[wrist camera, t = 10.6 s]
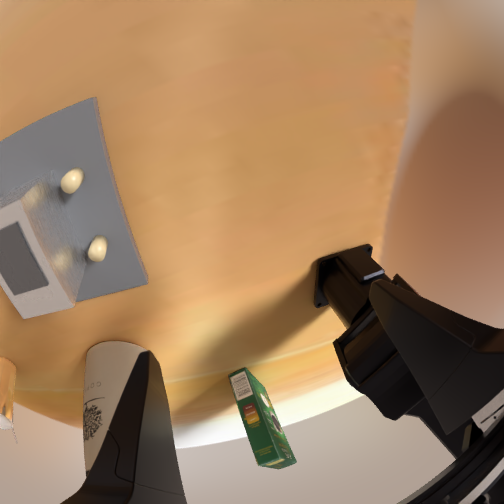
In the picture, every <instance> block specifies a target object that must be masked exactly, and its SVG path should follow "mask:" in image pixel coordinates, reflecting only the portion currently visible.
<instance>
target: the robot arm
mask: <svg viewBox="0 0 504 504" xmlns="http://www.w3.org/2000/svg"><path fill="white" fill-rule="evenodd" d="M372 249H373V247H372V246H371V245H370V244H366V245H362V246H359V247H356V248H353V249H349V250H346V251H343V252H339V253H336V254H333V255H329V256H326V257H322V258H320V259H319V260H318V262H317V272H316V284H315V295H314V306H315V307H316V308H320V307H322V306H325V305H328V304H329V305H330V306H331V308H332V309H333V310H334V312H335V313H336V314H337V316H338V317H339V319H340V320H341V321H342V323H343V324H344V326H345V327H346V328H347V330H346V331H345V332H344V333H343V334H342V335H341V336H340V337H339V338H338V339H336V340H335V341H334V342H333V345H334V348H335V351H336V354H337V356H338V359H339V362H340V364H341V367H342V369H343V372H344V375H345V377H346V380H347V381H348V382H349V384H350V385H351V386H352V387H354V388H355V389H356V390H357V391H359V392H360V393H362V394H365V395H366V396H367V397H368V398H369V399H370V400H371V401H372V402H373V403H374V404H375V405H376V406H377V408H378V409H379V410H380V412H381V413H382V414H383V416H385V417H386V418H389V419H392V420H397V419H399V418H400V417H401V416H403V415H409V416H414V417H419V418H420V419H421V420H422V421H423V422H424V424H426V426H427V427H428V428H429V429H430V430H431V431H432V433H433V434H434V435H435V436H436V437H437V438H438V439H439V440H440V442H441V443H442V444H443V445H444V446H445V447H446V448H447V449H448V451H449V452H450V453H451V454H452V455H453V456H454V457H455V459H456V460H455V461H454V462H453V463H452V464H451V465H449V466H448V467H447V468H446V469H445V470H444V471H442V472H441V473H440V474H439V475H437V476H436V477H435V478H434V479H432V480H431V481H429V482H428V483H427V484H425V485H424V486H423V487H421V488H420V489H419V490H417V491H416V492H414V493H413V494H411V495H410V496H408V497H407V498H405V499H404V500H402V501H400V502H399V503H397V504H504V329H499V328H494V327H492V326H489V325H486V324H483V323H481V322H478V321H475V320H473V319H470V318H467V317H465V316H463V315H460V314H458V313H456V312H454V311H452V310H449V309H447V308H445V307H443V306H441V305H439V304H436V303H434V302H432V301H430V300H428V299H425V298H423V297H421V296H420V295H419V294H418V293H417V292H416V291H415V290H414V289H413V288H412V287H411V286H410V285H409V284H408V283H407V282H406V281H405V280H404V279H403V278H401V277H400V276H399V275H398V274H396V275H395V276H394V277H393V278H394V279H393V280H391V279H390V278H389V277H388V276H387V275H385V273H384V272H385V271H384V269H383V268H382V267H381V266H380V265H378V264H377V263H376V262H375V261H374V260H373V259H372V258H371V254H372ZM108 429H109V430H107V433H106V435H105V438H104V440H103V443H102V445H101V448H100V450H99V452H98V455H97V457H96V459H95V461H94V463H93V465H92V467H91V469H90V471H89V473H88V475H87V477H86V480H85V482H84V483H83V485H82V487H81V488H80V489H79V490H78V491H77V492H76V493H75V494H74V495H72V496H71V497H69V498H68V499H66V500H65V501H63V502H62V503H60V504H187V502H186V498H185V496H184V495H185V494H184V490H183V485H182V481H181V476H180V472H179V467H178V462H177V456H176V450H175V445H174V439H173V432H172V425H171V418H170V411H169V404H168V399H167V395H166V390H165V386H164V382H163V377H162V372H161V368H160V364H159V362H158V361H157V359H156V358H155V356H154V355H153V353H152V352H151V351H150V350H148V351H143V352H140V353H139V355H138V357H137V360H136V362H135V364H134V366H133V369H132V371H131V373H130V376H129V378H128V380H127V383H126V385H125V387H124V390H123V392H122V395H121V397H120V400H119V402H118V404H117V407H116V409H115V412H114V415H113V417H112V420H111V422H110V425H109V427H108Z"/></svg>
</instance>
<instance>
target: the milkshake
mask: <svg viewBox="0 0 504 504" xmlns="http://www.w3.org/2000/svg"><path fill="white" fill-rule="evenodd" d="M15 379H16V366H15V365H14V364H13V363H12V362H11V361H9V360H8V359H6V358H3V357H0V428H1V429H3V430H7V429H11V428H12V429H13V397H14V387H15ZM13 433H14V430H13ZM14 437H15V440H16V436H15V433H14ZM16 443H17V440H16Z"/></svg>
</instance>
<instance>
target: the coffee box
mask: <svg viewBox="0 0 504 504" xmlns="http://www.w3.org/2000/svg"><path fill="white" fill-rule="evenodd" d="M228 376H229V380H230V383H231V386H232V390H233V393H234V396H235V399H236V403H237V406H238V409H239V412H240V415H241V418H242V421H243V424H244V427H245V430H246V433H247V436H248V439H249V441H250V444H251V447H252V450H253V453H254V455H255V459H256V462H257V464H258V466H262V467H269V468H275V469H281V468H284V467H287V466H290V465H292V464H295V463H296V462H297V461H296V459H295V457H294V455H293V452H292V450H291V448H290V446H289V444H288V441H287V439H286V437H285V434H284V432H283V430H282V428H281V425H280V423H279V421H278V418H277V416H276V414H275V411H274V409H273V406H272V404H271V402H270V399H269V397H268V394H267V392H266V389H265V387H263V385H262V384H261V383H260V382H259V381H258V380H257V379H256V378H255V377H254V376H253V375H252V374H251V373H250V372H249V371H248V370H247V368H243V369H241V370H239V371H236V372H234V373H232V374H229V375H228Z"/></svg>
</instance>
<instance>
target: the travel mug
mask: <svg viewBox="0 0 504 504" xmlns="http://www.w3.org/2000/svg"><path fill="white" fill-rule="evenodd" d="M143 351H147V350H146V349H144V348H142V347H140V346H138V345H135V344H132V343H128V342H122V341H108V342H102V343H99V344H97V345H95V346H93V347H92V348H90V349H89V351H88V352H87V355H86V365H85V378H84V397H83V436H84V437H83V438H84V457H85V469H86V477H87V475H88V473H89V471H90V469H91V467H92V465H93V463H94V461H95V459H96V457H97V455H98V452H99V450H100V448H101V445H102V443H103V440H104V438H105V435H106V433H107V430H109V429H108V427H109V425H110V422H111V420H112V417H113V415H114V412H115V409H116V407H117V404H118V402H119V400H120V397H121V395H122V392H123V390H124V387H125V385H126V383H127V380H128V378H129V376H130V373H131V371H132V369H133V366H134V364H135V362H136V360H137V357H138V355H139V353H140V352H143Z"/></svg>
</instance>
